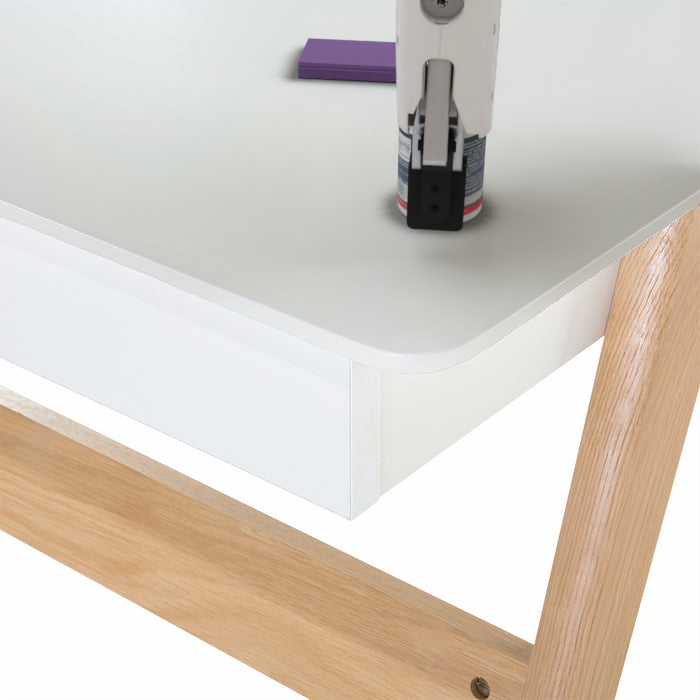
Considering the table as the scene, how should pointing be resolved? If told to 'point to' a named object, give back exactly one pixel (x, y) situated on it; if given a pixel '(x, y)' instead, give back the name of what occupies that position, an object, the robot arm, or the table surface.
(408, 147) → the pill bottle
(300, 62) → the purple box
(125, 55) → the table surface
